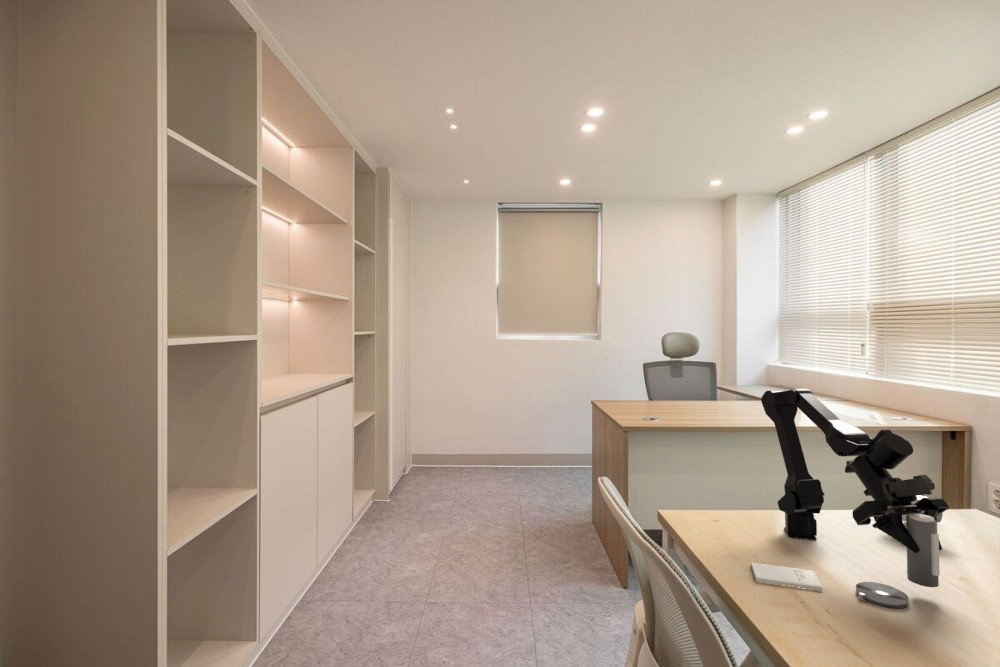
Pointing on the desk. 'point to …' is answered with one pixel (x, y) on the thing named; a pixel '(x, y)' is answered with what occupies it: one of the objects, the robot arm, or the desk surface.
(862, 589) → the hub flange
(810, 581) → the external hard drive
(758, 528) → the desk surface
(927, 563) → the dark gray cylinder
